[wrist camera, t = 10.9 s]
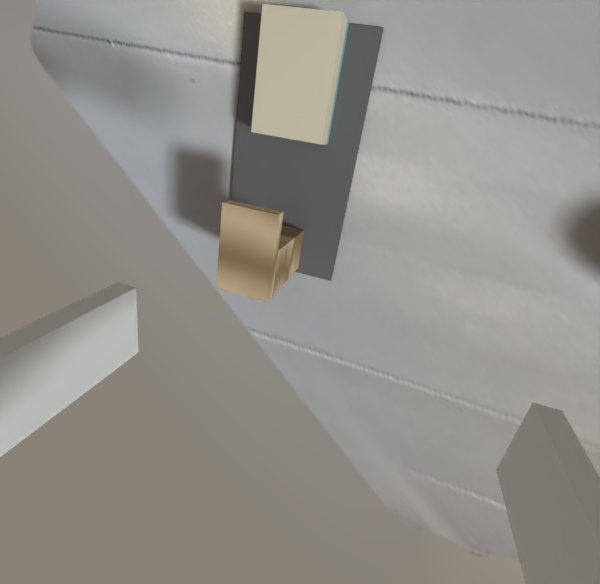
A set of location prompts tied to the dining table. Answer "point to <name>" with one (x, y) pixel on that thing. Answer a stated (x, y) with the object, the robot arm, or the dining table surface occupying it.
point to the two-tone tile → (298, 72)
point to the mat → (305, 152)
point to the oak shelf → (255, 250)
